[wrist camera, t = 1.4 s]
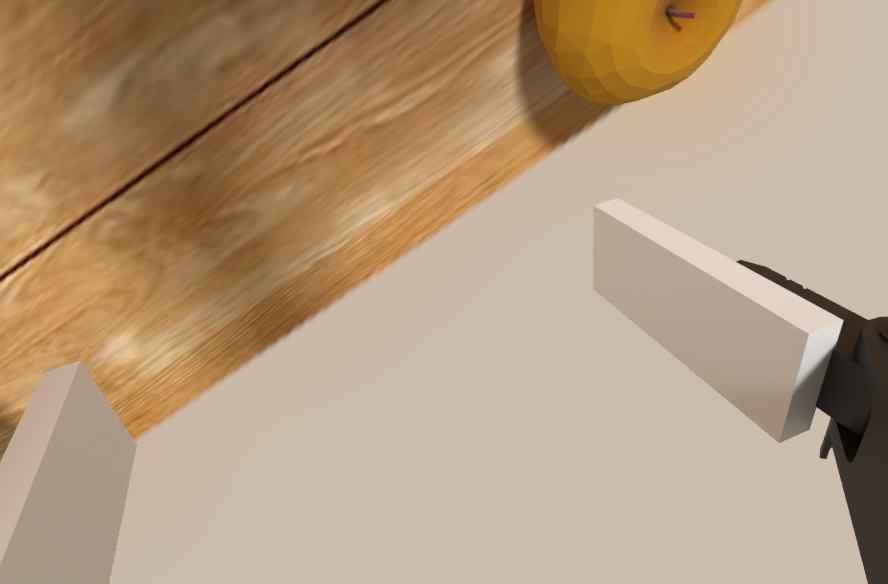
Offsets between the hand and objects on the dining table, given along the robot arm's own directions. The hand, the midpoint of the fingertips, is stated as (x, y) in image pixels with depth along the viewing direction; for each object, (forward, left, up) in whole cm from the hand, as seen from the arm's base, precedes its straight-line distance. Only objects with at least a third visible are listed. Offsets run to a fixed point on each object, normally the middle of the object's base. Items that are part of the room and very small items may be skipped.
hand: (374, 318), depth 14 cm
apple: (+15, +18, -27) cm, 36 cm away
